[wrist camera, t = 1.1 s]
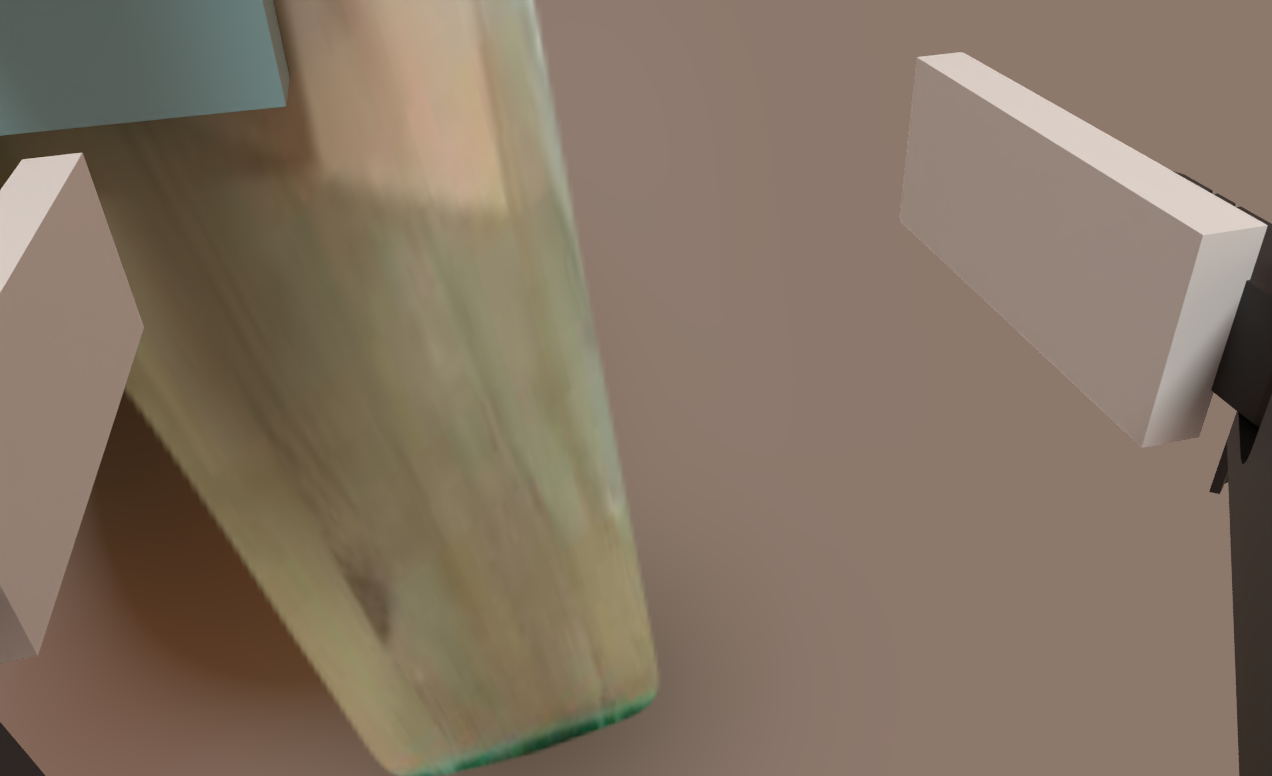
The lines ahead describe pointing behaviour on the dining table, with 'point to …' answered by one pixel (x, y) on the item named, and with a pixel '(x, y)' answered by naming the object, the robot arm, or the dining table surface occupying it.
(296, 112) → the dining table surface
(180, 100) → the slate blue rectangular box
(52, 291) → the robot arm
